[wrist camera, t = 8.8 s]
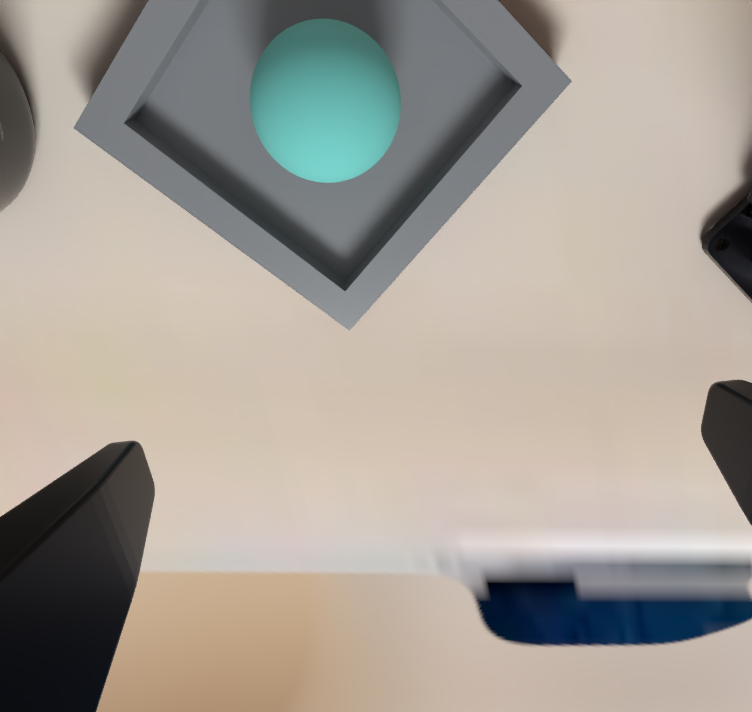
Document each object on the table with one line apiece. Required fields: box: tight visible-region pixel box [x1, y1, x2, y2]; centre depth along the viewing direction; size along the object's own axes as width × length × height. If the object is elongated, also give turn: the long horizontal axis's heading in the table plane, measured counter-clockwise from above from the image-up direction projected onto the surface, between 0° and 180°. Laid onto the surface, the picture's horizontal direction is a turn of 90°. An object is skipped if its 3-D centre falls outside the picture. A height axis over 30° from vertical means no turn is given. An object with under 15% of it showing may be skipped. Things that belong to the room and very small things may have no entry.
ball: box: [250, 19, 401, 183], centre depth 16 cm, size 4×4×4 cm
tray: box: [74, 0, 572, 330], centre depth 17 cm, size 10×10×2 cm
